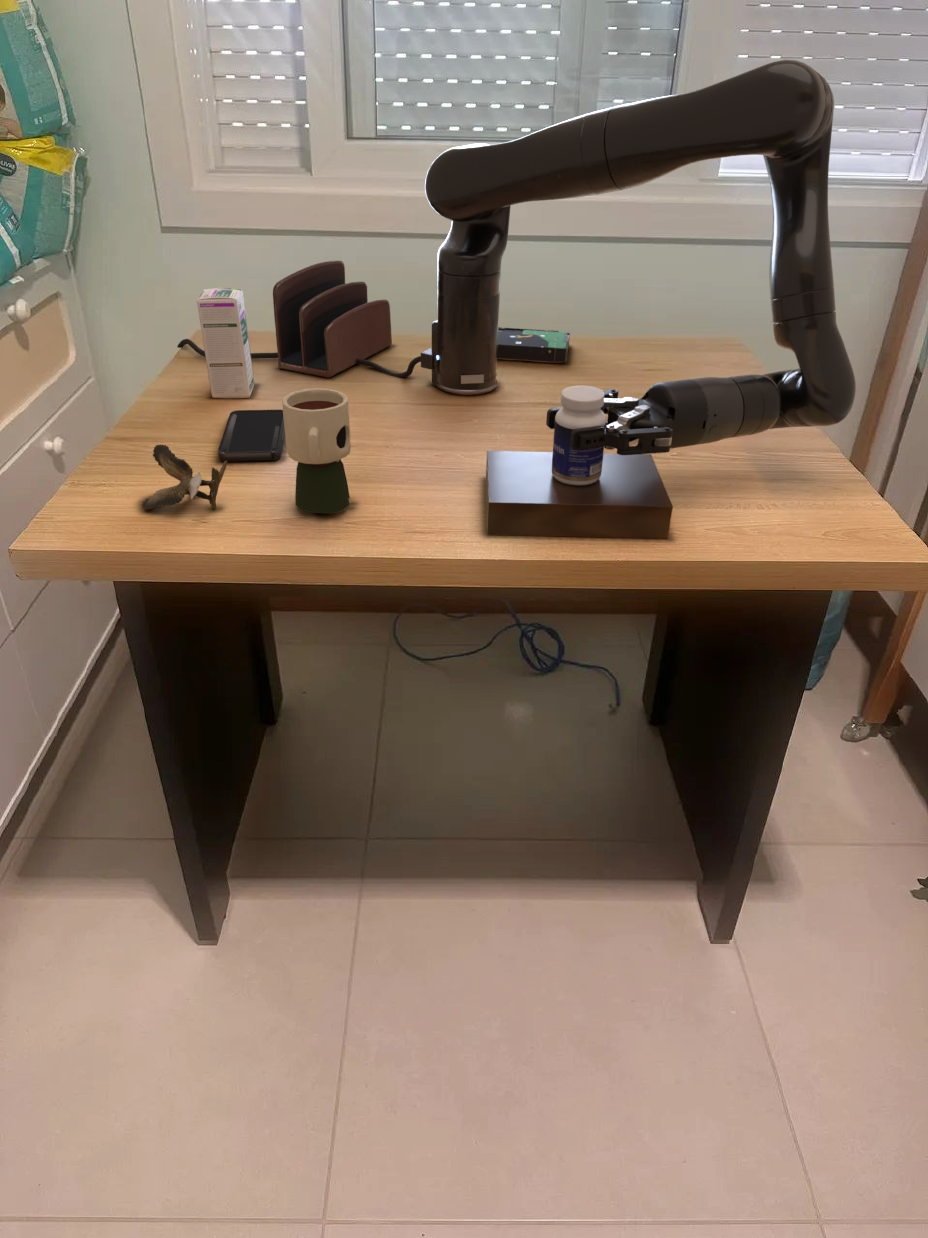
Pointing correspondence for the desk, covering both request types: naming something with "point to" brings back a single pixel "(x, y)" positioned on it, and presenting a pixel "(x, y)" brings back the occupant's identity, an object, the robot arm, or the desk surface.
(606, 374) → the desk surface
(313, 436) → the character mug
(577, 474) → the pill bottle
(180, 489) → the eagle figurine
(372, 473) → the desk surface
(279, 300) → the letter holder
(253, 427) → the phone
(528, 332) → the disk drive
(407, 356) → the desk surface
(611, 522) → the walnut stand
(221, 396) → the syrup box
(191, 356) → the desk surface
